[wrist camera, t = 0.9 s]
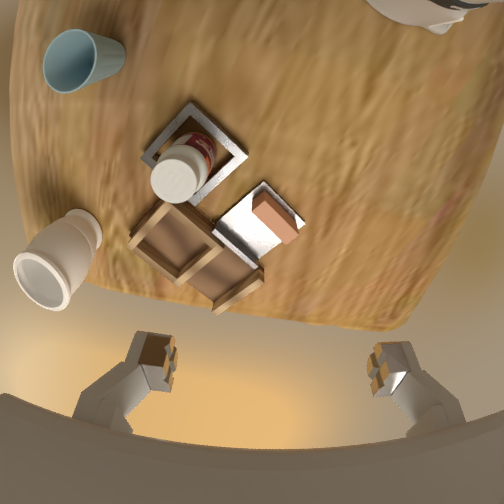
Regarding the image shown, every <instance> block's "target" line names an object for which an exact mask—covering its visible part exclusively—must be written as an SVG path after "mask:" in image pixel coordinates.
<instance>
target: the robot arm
mask: <svg viewBox="0 0 504 504" xmlns="http://www.w3.org/2000/svg"><path fill="white" fill-rule="evenodd" d="M366 1H367V2H368V3H369V4H370V5H371V6H372V7H373V8H375V9H376V10H377V11H378V12H380V13H381V14H383V15H384V16H386V17H388V18H390V19H392V20H394V21H396V22H399V23H402V24H406V25H413V26H420V27H424V28H425V29H427V30H429V31H431V32H432V33H435V34H437V35H441V34H444V33H446V31H447V30H448V29H449V28H450V27H451V26H452V24H453V23H454V22H459V21H462V20H463V19H464V17H463V16H465V15H466V14H467V12H468V11H469V10H473V9H478V8H480V7H484V6H486V5H488V4H489V3H494V2H504V0H366ZM174 344H175V338H174V336H172V335H165V334H158V333H151V332H144V331H137V332H136V333H135V335H134V338H133V340H132V343H131V346H130V349H129V351H128V354H127V357H126V359H125V362H120V363H119V364H117V365H116V366H115V367H114V368H112V369H111V370H110V371H109V372H107V373H106V374H104V375H103V376H102V377H101V378H99V379H98V380H97V381H95V382H94V383H93V384H92V385H90V386H89V387H88V388H86V389H85V390H84V391H82V392H81V395H80V398H79V400H78V403H77V406H76V408H75V411H74V413H73V416H72V418H71V417H68V416H64V415H62V414H59V413H56V412H53V411H50V410H47V409H44V408H42V407H39V406H37V405H34V404H32V403H29V402H27V401H24V400H22V399H19V398H17V397H15V396H13V395H10V394H7V393H3V394H1V395H0V504H504V410H502V411H499V412H497V413H494V414H491V415H488V416H485V417H482V418H479V419H476V420H473V421H470V422H467V423H466V420H465V417H464V415H463V412H462V409H461V406H460V403H459V401H458V399H457V398H456V397H454V396H453V395H452V394H451V393H450V392H449V391H448V390H446V389H445V388H444V387H443V386H442V385H441V384H439V383H438V382H437V381H436V380H435V379H434V378H433V377H431V376H430V375H429V374H428V373H427V372H426V371H425V370H421V368H420V365H419V362H418V360H417V357H416V355H415V352H414V350H413V347H412V345H411V343H410V342H409V341H402V342H381V343H377V344H375V346H374V348H373V349H374V353H372V354H371V355H370V356H369V358H368V361H367V372H368V376H369V377H370V378H371V379H372V382H371V384H370V385H371V389H372V393H373V397H383V396H391V398H392V399H393V400H394V401H395V403H396V404H397V405H398V406H399V407H400V408H401V410H402V411H403V412H404V413H405V414H406V415H407V417H408V418H409V419H410V420H411V421H412V423H413V424H414V426H412V427H411V428H410V430H408V431H407V433H406V436H407V437H406V438H400V439H394V440H389V441H383V442H376V443H368V444H361V445H352V446H341V447H331V448H313V449H245V448H227V447H215V446H205V445H195V444H188V443H181V442H174V441H168V440H161V439H156V438H150V437H145V436H140V435H135V434H132V432H133V429H132V428H131V426H130V425H129V423H128V422H127V420H126V419H125V417H126V416H127V415H128V414H129V413H130V412H131V411H132V410H133V409H134V408H135V407H136V406H137V405H138V404H139V403H140V402H141V401H142V400H143V399H144V398H145V397H146V395H147V394H148V393H150V391H151V390H154V391H162V392H171V389H172V384H173V380H174V378H173V375H172V372H174V371H175V370H176V366H177V349H176V347H175V346H174Z"/></svg>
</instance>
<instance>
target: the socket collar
mask: <svg viewBox="0 0 504 504" xmlns="http://www.w3.org/2000/svg"><path fill="white" fill-rule="evenodd" d="M190 116H192V117H193V118H194V119H195V120H196V121H197V122H199V123H200V124H201V125H202V126H203V127H204V128H205V129H206V130H207V131H208V132H209V133H210V134H211V135H213V136H214V137H215V138H216V139H217V140H218V141H219V142H220V143H221V144H222V145H223V146H224V147H225V148H226V149H227V150H228V151H229V152H231V153H232V154H233V156H232V157H231V158H230V159H229V160H227V161H226V162H225V163H224V164H223V165H222V166H221V167H220V168H219V169H218V170H217V171H216V172H215V173H214V174H213V175H212V176H211V177H210V178H208V179H207V180H206V181H205V183H204V185H203V186H202V187H201V188H200V189H199V190H198V191H197V192H195V193H194V194H193V195H192V197H191V198H189V199H188V201H189V202H190V203H191V204H192V205H194V206H196V205H197V204H198V203H199V202H200V201H201V200H202V199H203V198H204V197H205V196H206V195H207V194H208V193H209V192H210V191H212V190H213V189H214V188H215V187H216V186H217V185H218V184H219V183H220V182H221V181H222V180H223V179H224V178H225V177H227V176H228V175H229V174H230V173H231V172H232V171H233V170H234V169H235V168H236V167H237V166H239V165H240V164H241V163H242V162H243V161H244V160H245V159H246V158H247V157H248V154H249V153H248V152H247V151H246V150H245V149H244V148H243V147H242V146H241V145H240V144H239V143H238V142H237V141H236V140H235V139H234V138H233V137H232V136H231V135H230V134H229V133H228V132H227V131H226V130H225V129H224V128H222V127H221V126H220V125H219V124H218V123H217V122H216V121H215V120H214V119H213V118H212V117H211V116H210V115H209V114H208V113H206V112H205V111H204V110H203V109H202V108H201V107H200V106H199V105H198V104H197V103H196V102H194V101H191V102H190V103H189V104H188V105H187V106H186V107H185V108H184V109H183V110H182V111H181V112H180V113H179V114H178V115H177V116H176V117H175V119H174V120H173V121H172V122H171V123H170V124H169V125H168V126H167V127H166V128H165V130H164V131H163V132H162V133H161V134H160V135H159V136H158V138H157V139H156V140H155V141H154V142H153V143H152V145H151V146H150V147H149V148H148V149H147V150H146V152H145V153H144V154H143V155H142V157H141V158H140V159H141V160H143V161H144V162H145V163H146V164H147V165H148V166H149V167H151V168H152V169H154V167H155V166H156V164H157V161H158V159H159V156H158V155H157V154H156V153H157V152H158V151H159V150H160V148H161V147H162V146H163V145H164V144H165V143H166V142H167V141H168V139H169V138H170V137H171V136H172V135H173V134H174V133H175V132H176V131H177V130H178V128H179V127H180V126H181V125H182V124H183V123H184V122H185V121H186V120H187V119H188V118H189V117H190Z"/></svg>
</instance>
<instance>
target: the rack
mask: <svg viewBox="0 0 504 504" xmlns="http://www.w3.org/2000/svg"><path fill="white" fill-rule="evenodd" d="M212 229H213V224H211V223H210V222H209V221H208V220H207V219H206V218H205V217H203V216H202V215H201V214H200V213H199V212H198V211H197V210H196V209H194V208H193V207H192V206H191V205H190V204H189V203H188V202H186V201H184V202H181V203H169V202H166V201H164V200H162V199H160V200H159V201H158V202H157V203H156V204H155V205H154V206H153V208H152V209H151V210H150V211H149V212H148V213H147V214H146V215H145V217H144V218H143V219H142V220H141V221H140V222H139V224H138V225H137V226H136V227H135V228H134V229H133V231H132V232H131V233H130V234H129V236H130V237H131V239H130V241H129V242H128V244H127V245H126V246H127V247H128V248H129V249H130V250H132V251H133V252H134V253H135V254H136V255H138V256H139V257H140V258H141V259H143V260H144V261H145V262H147V263H148V264H149V265H150V266H152V267H153V268H154V269H155V270H157V271H158V272H159V273H161V274H162V275H163V276H164V277H166V278H167V279H168V280H170V281H171V282H172V283H174V284H175V285H176V286H178V287H180V286H181V285H182V284H183V283H184V282H188V283H189V284H190V285H191V286H193V287H194V288H195V289H197V290H198V291H199V292H201V293H202V294H203V295H205V296H206V297H207V298H209V299H210V300H211V301H213V307H212V313H214V314H215V315H219V314H220V313H221V312H223V311H224V310H226V309H227V308H229V307H230V306H232V305H233V304H235V303H236V302H238V301H239V300H241V299H242V298H243V297H245V296H246V295H248V294H249V293H251V292H252V291H254V290H255V289H256V288H258V287H259V286H261V285H262V284H264V269H263V268H262V267H261V266H260V265H258V267H257V268H256V269H253V268H252V267H251V266H250V265H249V264H248V263H246V262H245V261H244V260H243V259H242V258H241V257H239V256H238V255H237V254H236V253H235V252H234V251H232V250H231V249H230V248H229V247H228V246H227V245H225V244H224V243H223V242H222V241H221V240H220V239H218V238H217V237H216V236H215V235H214V234H213V233H212Z"/></svg>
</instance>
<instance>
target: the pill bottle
mask: <svg viewBox="0 0 504 504" xmlns="http://www.w3.org/2000/svg"><path fill="white" fill-rule="evenodd" d="M216 155H217V153H216V147H215V145H214V143H213V141H212V140H211V139H210V138H209V137H208V136H206V135H204V134H202V133H198V132H190V133H186V134H184V135H182V136H181V137H180V138H178V139H177V140H176V141H175V142H174V143H173V144H172V145H171V146H170V147H169V148H167V149H166V150H165V151H164V152H163V153H162V154H161V156H160V157H159V159H158V161H157V164H156V166H155V167H154V169H153V171H152V173H151V186H152V188H153V190H154V192H155V193H156V195H157V196H158V197H159V198H161V199H162V200H164V201H166V202H169V203H181V202H184V201H186V200H188V199H189V198H191V197H192V195H193V194H194V193H195V192H197V191H198V190H199V189H200V188H201V187H202V186H203V185H204V183H205V181H206V179H207V177H208V175H209V173H210V171H211V169H212V167H213V165H214V163H215V160H216Z"/></svg>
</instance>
